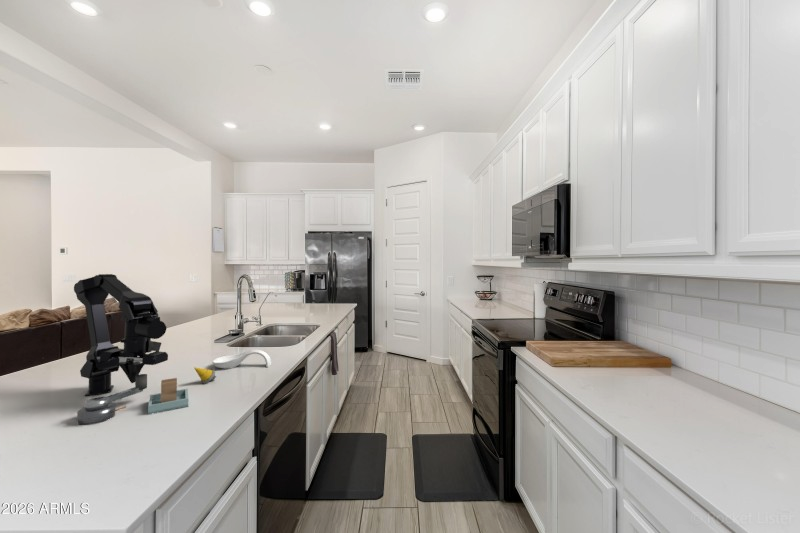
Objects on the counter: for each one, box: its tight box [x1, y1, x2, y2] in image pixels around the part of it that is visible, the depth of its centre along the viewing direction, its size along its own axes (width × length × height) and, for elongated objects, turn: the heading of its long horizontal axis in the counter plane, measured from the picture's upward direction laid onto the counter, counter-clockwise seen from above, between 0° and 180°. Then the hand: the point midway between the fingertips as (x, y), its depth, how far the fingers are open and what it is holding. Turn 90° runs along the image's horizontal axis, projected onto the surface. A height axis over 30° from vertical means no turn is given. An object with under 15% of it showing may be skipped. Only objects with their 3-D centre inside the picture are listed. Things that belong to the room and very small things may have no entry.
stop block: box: [160, 377, 178, 403], centre depth 103 cm, size 4×4×7 cm
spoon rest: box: [212, 349, 272, 370], centre depth 142 cm, size 24×12×7 cm, turn 97°
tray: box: [147, 388, 189, 415], centre depth 103 cm, size 10×10×2 cm
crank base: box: [76, 401, 126, 426], centre depth 94 cm, size 9×10×3 cm
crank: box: [84, 373, 148, 411], centre depth 98 cm, size 16×5×5 cm, turn 162°
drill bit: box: [193, 366, 217, 385], centre depth 121 cm, size 5×5×10 cm
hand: (133, 382), depth 105 cm, fingers closed
